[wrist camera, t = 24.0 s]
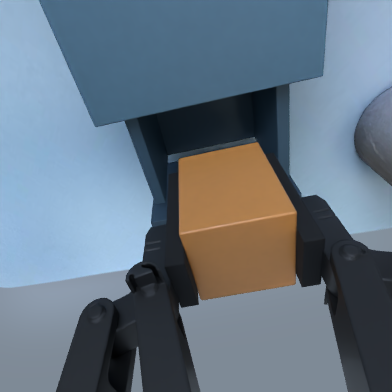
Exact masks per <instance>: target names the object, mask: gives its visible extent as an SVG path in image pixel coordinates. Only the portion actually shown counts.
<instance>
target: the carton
mask: <svg viewBox="0 0 392 392" xmlns="http://www.w3.org/2000/svg"><path fill="white" fill-rule="evenodd" d="M178 164H179V236H180V239H181V242H182V245H183V247H184V250H185V253H186V256H187V259H188V262H189V265H190V268H191V271H192V274H193V277H194V280H195V283H196V286H197V289H198V293H199V296H200V299H201V300H208V299H213V298H219V297H225V296H231V295H237V294H243V293H249V292H255V291H261V290H266V289H272V288H278V287H284V286H290V285H295V284H296V227H297V211H296V210H295V208H294V206H293V204H292V203H291V201H290V199H289V197H288V195H287V194H286V192H285V190H284V188H283V186H282V185H281V183H280V181H279V179H278V177H277V176H276V174H275V172H274V170H273V168H272V167H271V165H270V163H269V161H268V159H267V158H266V156H265V154H264V152H263V150H262V149H261V147H260V145H259V143H258V142H255V143H250V144H246V145H241V146H236V147H231V148H226V149H222V150H217V151H212V152H207V153H203V154H198V155H193V156H188V157H183V158H179V160H178Z"/></svg>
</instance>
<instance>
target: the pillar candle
mask: <svg viewBox="0 0 392 392" xmlns="http://www.w3.org/2000/svg"><path fill="white" fill-rule="evenodd" d="M354 138H355V140H354V141H355V148H356V151H357V153H358V155H359V157H360V158H361V159H362V160H363V161H364V162H365V163H366V164H367V165H369V166H370V167H371V168H372V169H373V170H374V171H375V172H376V173H377V174H379V175H380V176H381V177H382V178H383V179H384V180H386V181H387V182H388V183H389V184H390V185H391V186H392V87H391V88H389V89H388V90H386V91H385V92H383V93H382V94H381V95H379V96H378V97H377V98H375V99H374V100H373V101H372V102H371V104H369V106H368V107H367V108H366V109H365V111H364V112H363V114H362V116H361V118H360V120H359V122H358V124H357V127H356V131H355V137H354Z"/></svg>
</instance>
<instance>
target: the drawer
mask: <svg viewBox="0 0 392 392" xmlns="http://www.w3.org/2000/svg"><path fill="white" fill-rule="evenodd" d="M125 123H126V126H127V128H128V131H129V134H130V137H131V139H132V142H133V145H134V147H135V150H136V153H137V155H138V158H139V161H140V163H141V166H142V169H143V171H144V174H145V177H146V180H147V182H148V185H149V188H150V190H151V193H152V196H153V198H154V199H153V208H152V218H151V224H152V227H155V226H160V225H165V224H166V220H167V198H168V177H169V174H172V173H177V172H179V164H178V161H177V162H172V163H168V155H171V154H176V153H181V152H185V151H190V150H195V149H199V148H204V147H209V146H213V145H218V144H223V143H228V142H232V141H237V140H242V139H246V138H251V137H255V138H256V140H257V141H258V143H259V145H260V147H261V149H262V150H263V152H264V154H269V153H274V154H275V156H276V158H277V159H278V161H279V163H280V164H281V166H282V167H283V169H284V171H285V172H286V174H287V176H288V177H289V179H290V181H291V182H292V184H293V186H294V187H295V189H296V190H297V192H298V194H299V195H300V197H301V192H300V190H299V189H298V187H297V186H296V184H295V183H294V181H293V179H292V178H291V176H290V175H289V84H286V85H281V86H277V87H272V88H268V89H263V90H259V91H254V92H250V93H246V94H241V95H237V96H232V97H228V98H223V99H219V100H214V101H210V102H205V103H201V104H197V105H192V106H188V107H183V108H179V109H174V110H170V111H165V112H161V113H156V114H152V115H147V116H143V117H139V118H134V119H130V120H125Z"/></svg>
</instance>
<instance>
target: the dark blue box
mask: <svg viewBox="0 0 392 392" xmlns="http://www.w3.org/2000/svg"><path fill="white" fill-rule="evenodd" d="M39 1H40V4H41V6H42V8H43V11H44V13H45V15H46V17H47V20H48V22H49V24H50V26H51V29H52V31H53V33H54V35H55V38H56V40H57V42H58V44H59V47H60V49H61V51H62V53H63V56H64V58H65V60H66V62H67V65H68V67H69V69H70V71H71V74H72V76H73V78H74V80H75V83H76V85H77V87H78V89H79V92H80V94H81V96H82V98H83V101H84V103H85V105H86V107H87V110H88V112H89V114H90V116H91V119H92V121H93V123H94V125H95V127H98V126H103V125H107V124H112V123H116V122H121V121H125V120H130V119H134V118H139V117H143V116H147V115H152V114H156V113H161V112H165V111H170V110H174V109H179V108H183V107H188V106H192V105H197V104H201V103H205V102H210V101H214V100H219V99H223V98H228V97H232V96H237V95H241V94H246V93H250V92H254V91H259V90H263V89H268V88H272V87H277V86H281V85H286V84H290V83H295V82H299V81H303V80H308V79H312V78H317V77H321V76H323V69H324V54H325V39H326V25H327V10H328V0H39Z"/></svg>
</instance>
